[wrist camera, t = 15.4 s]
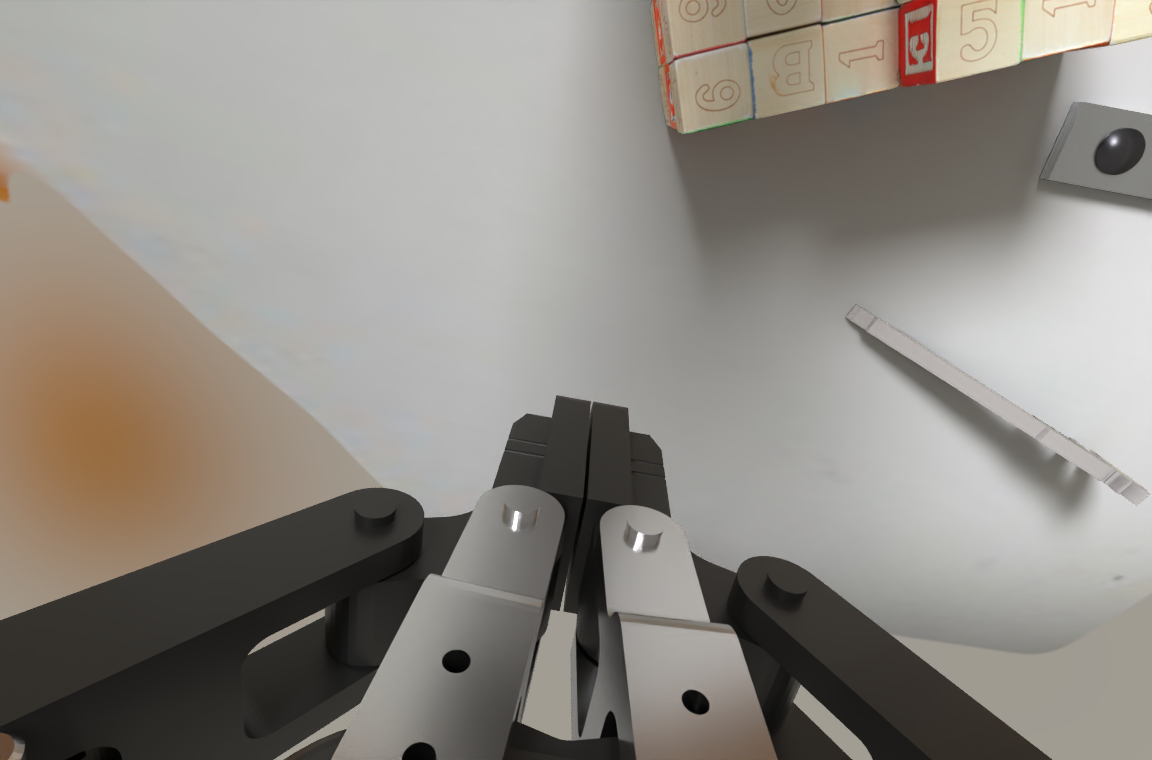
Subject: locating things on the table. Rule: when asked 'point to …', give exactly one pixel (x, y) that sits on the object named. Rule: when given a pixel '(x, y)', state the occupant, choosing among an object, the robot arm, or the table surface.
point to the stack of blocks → (857, 48)
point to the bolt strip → (1103, 150)
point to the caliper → (1001, 406)
